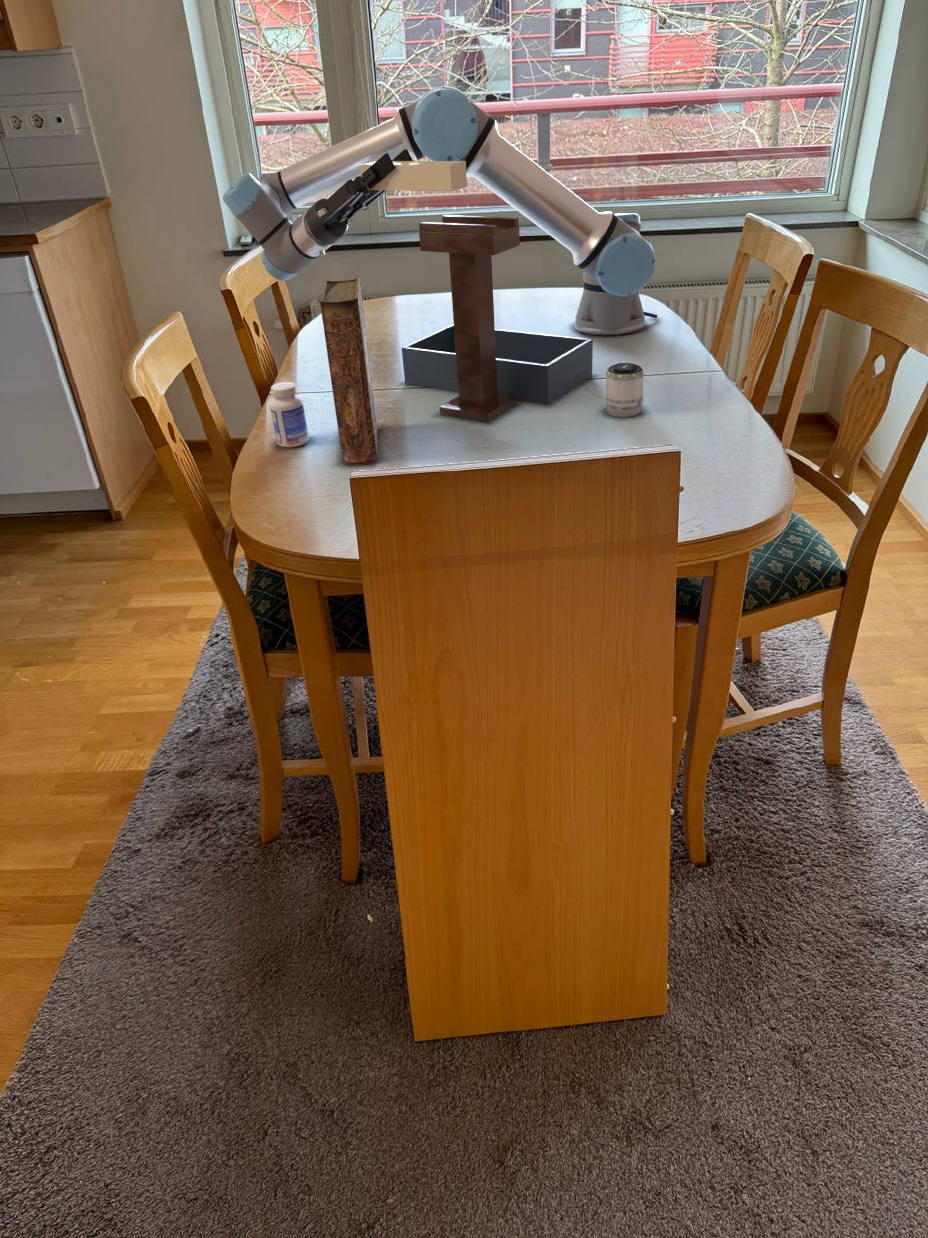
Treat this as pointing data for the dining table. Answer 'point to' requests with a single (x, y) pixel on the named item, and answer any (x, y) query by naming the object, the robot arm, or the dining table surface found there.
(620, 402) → the camera lens
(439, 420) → the dining table surface
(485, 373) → the stand
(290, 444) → the pill bottle
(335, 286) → the book
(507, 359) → the bin
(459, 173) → the carton
